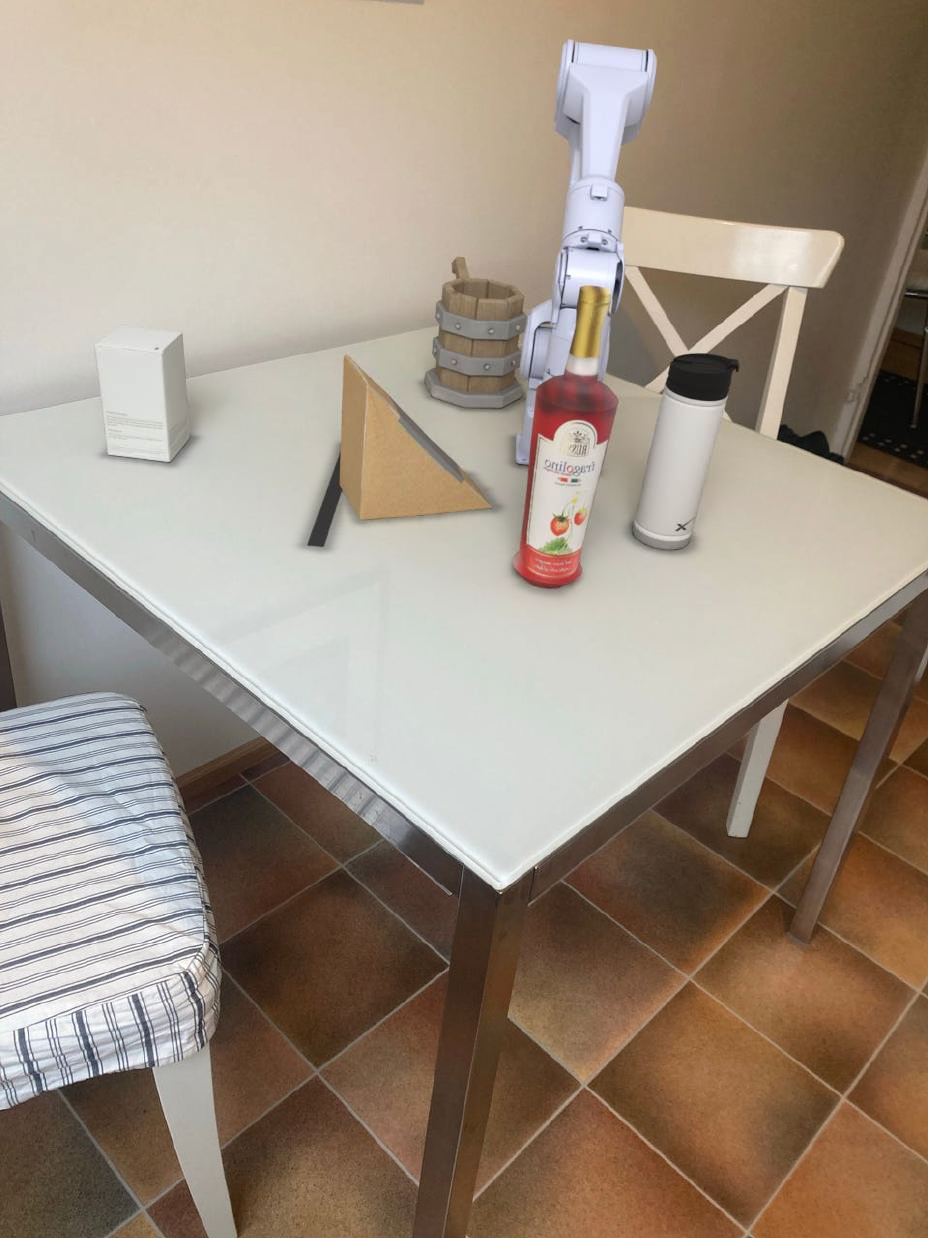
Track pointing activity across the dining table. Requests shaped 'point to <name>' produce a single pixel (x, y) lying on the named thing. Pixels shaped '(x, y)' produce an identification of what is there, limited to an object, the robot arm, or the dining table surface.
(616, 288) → the robot arm
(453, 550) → the dining table surface
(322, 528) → the tape line
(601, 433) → the liquor
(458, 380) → the tankard
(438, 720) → the dining table surface
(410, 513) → the sandwich container
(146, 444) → the white packaging box
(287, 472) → the dining table surface
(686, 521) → the travel mug
